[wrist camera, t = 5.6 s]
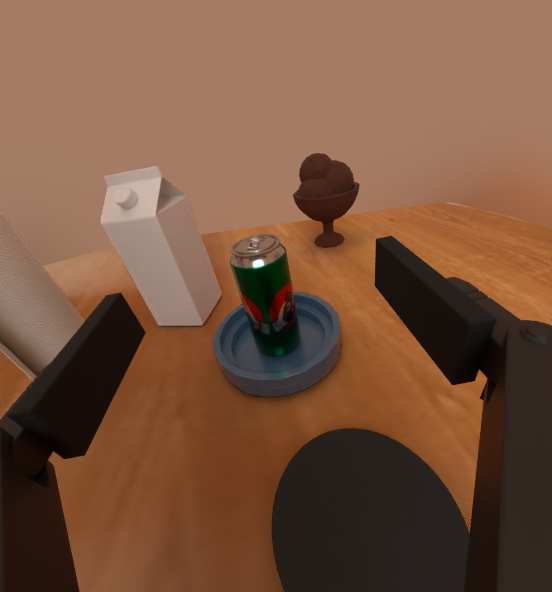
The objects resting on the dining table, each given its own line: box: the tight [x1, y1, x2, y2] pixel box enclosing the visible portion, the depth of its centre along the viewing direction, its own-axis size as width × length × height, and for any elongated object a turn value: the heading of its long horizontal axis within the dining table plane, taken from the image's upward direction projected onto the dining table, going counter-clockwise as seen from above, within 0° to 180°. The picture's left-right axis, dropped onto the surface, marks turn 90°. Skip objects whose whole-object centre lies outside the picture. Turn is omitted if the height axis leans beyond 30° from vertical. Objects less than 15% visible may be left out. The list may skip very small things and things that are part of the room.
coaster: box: [272, 429, 470, 592], centre depth 16 cm, size 11×11×1 cm
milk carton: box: [101, 166, 222, 326], centre depth 33 cm, size 7×7×19 cm
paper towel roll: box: [0, 211, 85, 381], centre depth 24 cm, size 7×6×21 cm
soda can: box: [230, 234, 301, 357], centre depth 26 cm, size 5×5×12 cm
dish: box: [213, 292, 342, 397], centre depth 29 cm, size 13×13×3 cm
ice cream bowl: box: [293, 153, 359, 248], centre depth 46 cm, size 11×11×15 cm
